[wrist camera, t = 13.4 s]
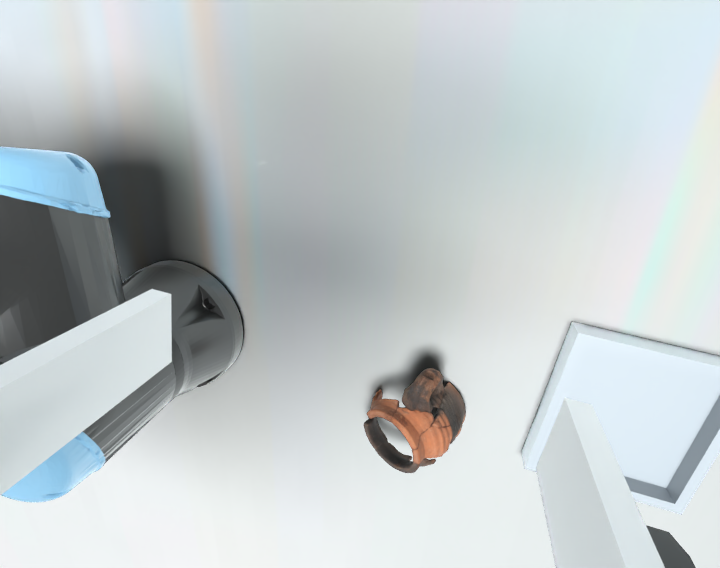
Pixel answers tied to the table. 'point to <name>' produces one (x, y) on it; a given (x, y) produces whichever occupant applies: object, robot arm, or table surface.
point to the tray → (639, 409)
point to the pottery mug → (418, 421)
